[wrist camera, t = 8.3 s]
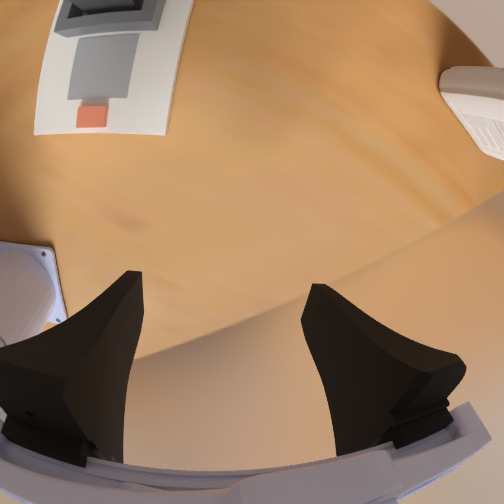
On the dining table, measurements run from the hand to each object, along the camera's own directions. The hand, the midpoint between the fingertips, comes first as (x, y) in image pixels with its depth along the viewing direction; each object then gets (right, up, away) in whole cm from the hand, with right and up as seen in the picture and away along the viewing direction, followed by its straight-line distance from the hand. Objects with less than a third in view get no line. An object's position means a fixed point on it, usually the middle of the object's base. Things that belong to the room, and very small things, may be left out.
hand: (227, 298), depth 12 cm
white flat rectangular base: (-8, +17, +1) cm, 19 cm away
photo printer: (+21, +15, +7) cm, 27 cm away
